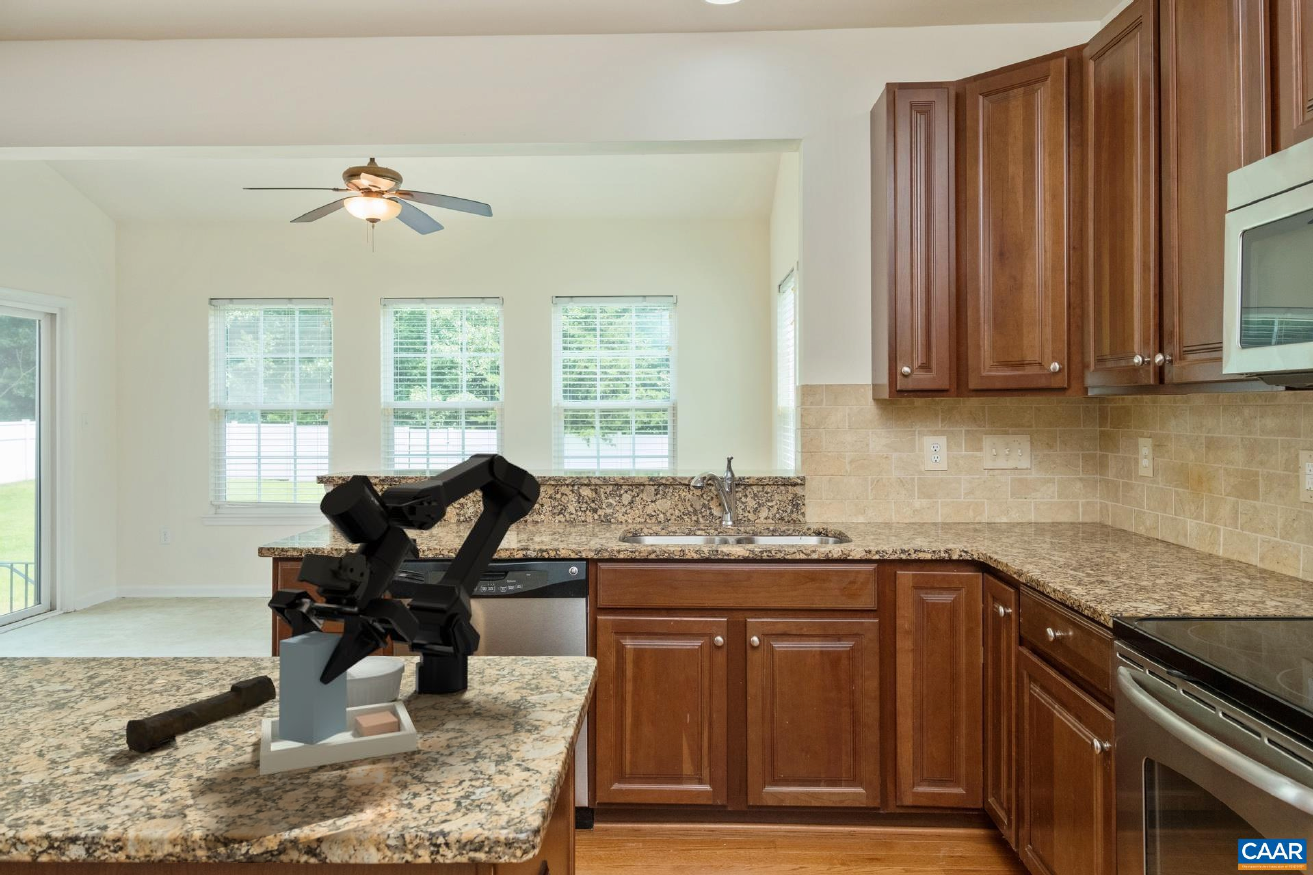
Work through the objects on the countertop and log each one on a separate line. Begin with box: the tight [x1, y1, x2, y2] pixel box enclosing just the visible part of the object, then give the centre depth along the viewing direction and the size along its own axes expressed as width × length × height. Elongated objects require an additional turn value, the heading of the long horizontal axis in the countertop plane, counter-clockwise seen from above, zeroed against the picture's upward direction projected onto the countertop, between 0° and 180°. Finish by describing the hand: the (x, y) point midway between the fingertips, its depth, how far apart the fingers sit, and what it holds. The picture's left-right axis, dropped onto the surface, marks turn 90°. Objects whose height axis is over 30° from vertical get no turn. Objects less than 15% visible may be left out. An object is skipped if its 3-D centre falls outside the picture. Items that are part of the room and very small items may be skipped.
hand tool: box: [125, 674, 277, 754], centre depth 100 cm, size 19×4×5 cm, turn 152°
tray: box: [259, 700, 418, 776], centre depth 92 cm, size 16×12×3 cm
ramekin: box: [346, 655, 406, 708], centre depth 108 cm, size 11×11×5 cm
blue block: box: [278, 631, 347, 745], centre depth 90 cm, size 5×5×11 cm
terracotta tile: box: [355, 711, 398, 737], centre depth 96 cm, size 4×4×2 cm
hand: (304, 679), depth 89 cm, fingers closed on blue block, 5 cm apart
